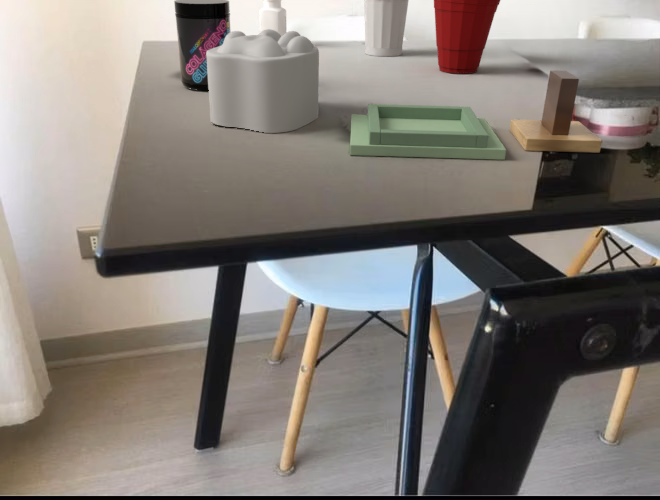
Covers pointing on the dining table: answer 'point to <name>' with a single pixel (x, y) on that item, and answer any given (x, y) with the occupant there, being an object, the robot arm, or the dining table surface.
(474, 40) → the plastic cup
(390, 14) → the cup
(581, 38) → the dining table surface
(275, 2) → the pepper shaker
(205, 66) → the supplement container
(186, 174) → the dining table surface
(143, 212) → the dining table surface
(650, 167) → the dining table surface
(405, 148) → the base pad
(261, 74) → the lumpy-topped squat cylinder
